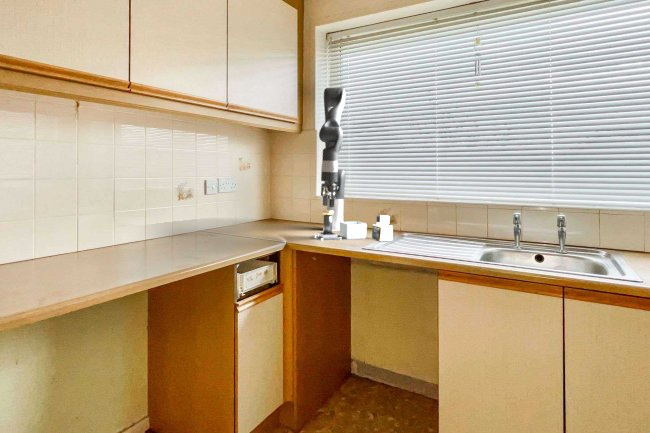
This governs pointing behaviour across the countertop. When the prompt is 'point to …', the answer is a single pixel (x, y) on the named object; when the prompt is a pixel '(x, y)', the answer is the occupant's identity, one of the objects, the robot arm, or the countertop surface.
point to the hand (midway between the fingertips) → (328, 206)
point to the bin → (353, 230)
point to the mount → (326, 236)
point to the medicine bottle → (382, 229)
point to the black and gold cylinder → (327, 222)
